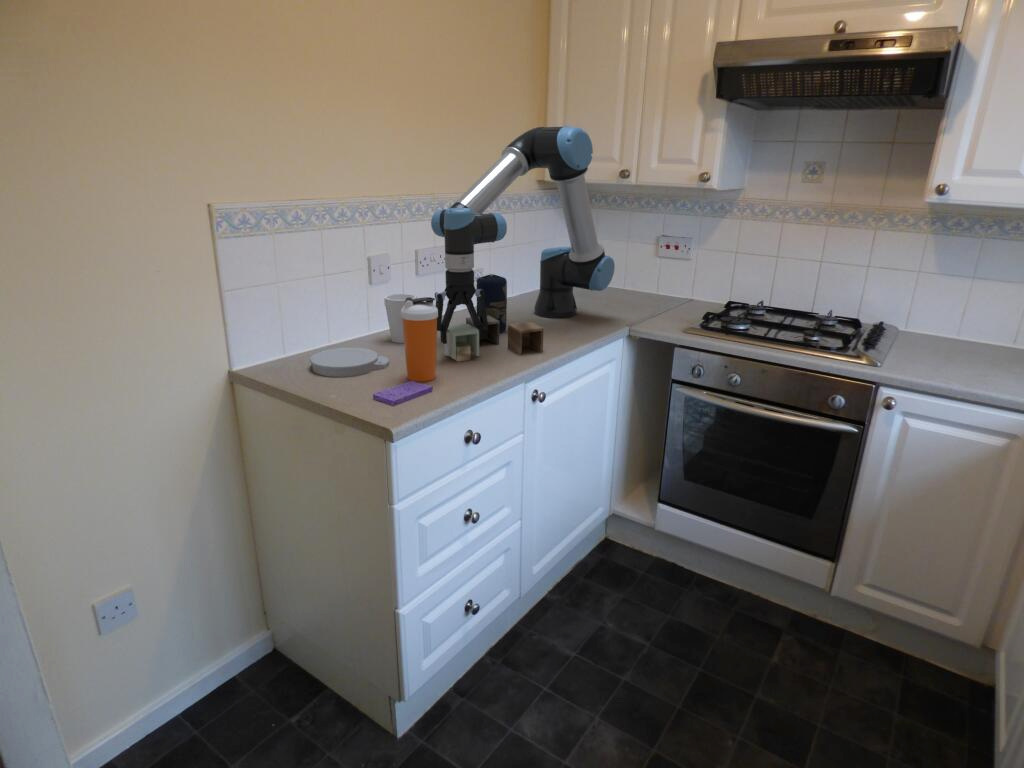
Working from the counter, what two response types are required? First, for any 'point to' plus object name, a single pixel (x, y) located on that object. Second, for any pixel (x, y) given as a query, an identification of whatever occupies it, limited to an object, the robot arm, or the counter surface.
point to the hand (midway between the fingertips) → (461, 352)
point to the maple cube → (463, 352)
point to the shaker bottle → (420, 338)
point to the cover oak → (488, 329)
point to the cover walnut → (525, 336)
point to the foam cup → (396, 315)
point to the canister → (494, 297)
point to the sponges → (402, 393)
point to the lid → (347, 362)
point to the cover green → (463, 338)
